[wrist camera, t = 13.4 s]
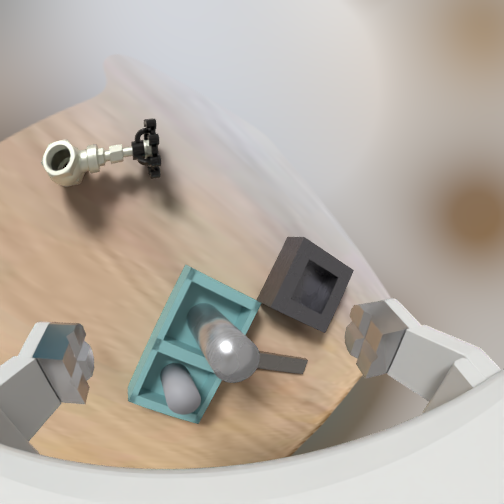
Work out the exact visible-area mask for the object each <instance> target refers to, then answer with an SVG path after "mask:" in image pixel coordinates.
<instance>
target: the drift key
mask: <svg viewBox="0 0 504 504" xmlns="http://www.w3.org/2000/svg"><path fill="white" fill-rule="evenodd" d="M259 354H260V361H259V365H258V367H257V368H261V369H268V370H275V371H283V372H291V373H300V374H303V372H304V370H305V367H306V364H307V361H308V360H307V359H306V358H300V357H293V356H287V355H281V354H275V353H269V352H263V351H259Z"/></svg>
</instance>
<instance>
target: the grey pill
mask: <svg viewBox="0 0 504 504" xmlns="http://www.w3.org/2000/svg"><path fill="white" fill-rule="evenodd" d="M186 322H187V326H188V328H189V330H190V332H191V333H192V335H193V337H194V339H195V341H196V342H197V344H198V346H199V348H200V349H201V351H202V353H203V354H204V356H205V358H206V360H207V361H208V363H209V365H210V366H211V368H212V370H213V371H214V373H215V374H216V376H217V377H218V378H219V379H221V380H223V381H225V382H230V383H236V382H241V381H243V380H245V379H247V378H249V377H250V376H251V375H252V374H253V373H254V372H255V371H256V369H257V367H258V365H259V361H260V354H259V350H258V348H257V346H256V345H255V344H254V343H253V342H252V341H251V340H250V339H249V338H247V337H246V336H245V335H244V334H243V333H242V332H241V331H240V330H239V329H238V328H237V327H236V326H234V325H233V324H232V323H231V322H230V321H229V320H228V319H227V318H226V317H225V316H224V315H223V314H222V313H221V312H220V311H219V310H217V309H216V308H215V307H214V306H213V305H211V304H208V303H200V304H197V305H195V306H193V307H192V308H191V309H190V310H189V312H188V314H187V319H186Z"/></svg>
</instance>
